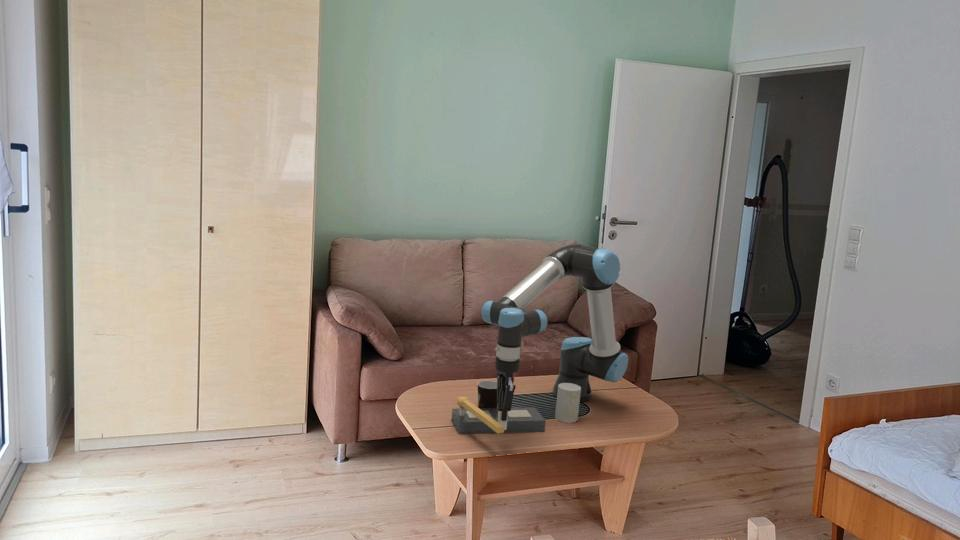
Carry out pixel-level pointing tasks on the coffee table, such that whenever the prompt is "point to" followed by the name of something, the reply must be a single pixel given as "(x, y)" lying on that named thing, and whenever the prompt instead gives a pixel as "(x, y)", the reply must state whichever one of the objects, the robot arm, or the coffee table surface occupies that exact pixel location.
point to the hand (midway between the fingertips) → (501, 428)
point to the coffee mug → (487, 394)
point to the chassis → (516, 420)
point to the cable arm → (480, 414)
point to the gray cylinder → (567, 402)
